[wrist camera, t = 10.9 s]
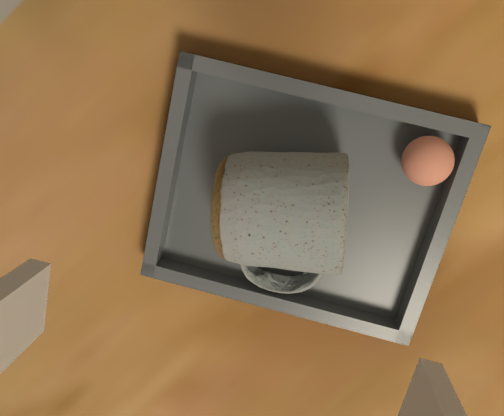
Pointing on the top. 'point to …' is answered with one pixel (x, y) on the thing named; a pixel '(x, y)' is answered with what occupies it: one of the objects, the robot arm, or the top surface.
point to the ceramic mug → (282, 215)
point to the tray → (319, 141)
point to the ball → (427, 160)
